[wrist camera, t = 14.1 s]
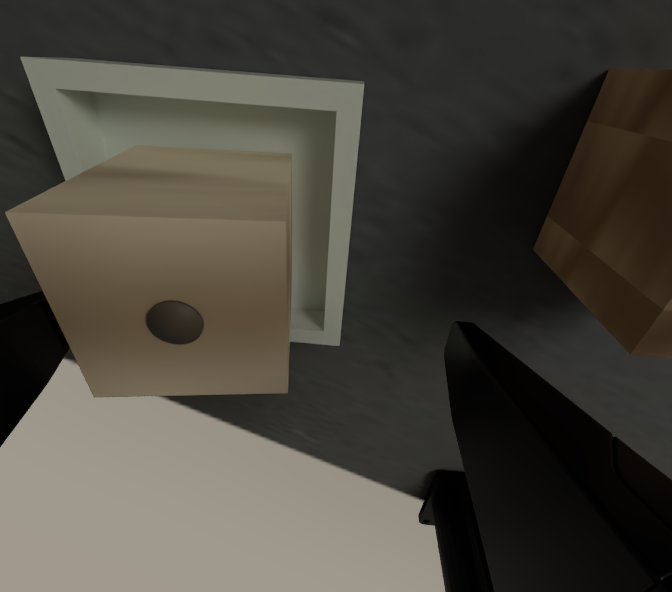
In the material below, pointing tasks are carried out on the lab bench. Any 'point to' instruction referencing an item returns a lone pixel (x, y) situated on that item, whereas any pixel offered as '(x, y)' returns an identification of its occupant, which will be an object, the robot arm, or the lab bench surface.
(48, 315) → the robot arm
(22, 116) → the lab bench surface
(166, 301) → the maple block
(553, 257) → the bored oak block
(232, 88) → the tray
